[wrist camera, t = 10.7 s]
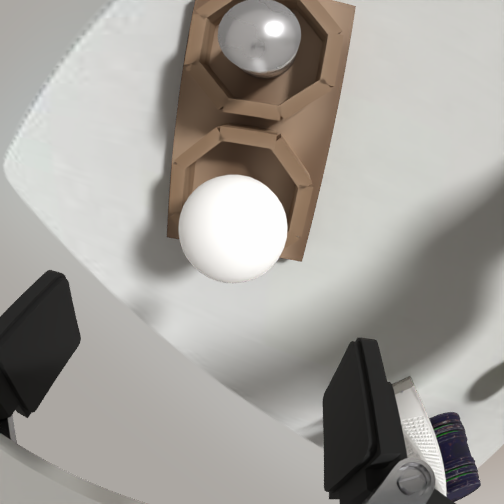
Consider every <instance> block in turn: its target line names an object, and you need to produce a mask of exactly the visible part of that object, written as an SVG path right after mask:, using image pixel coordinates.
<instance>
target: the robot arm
mask: <svg viewBox="0 0 504 504" xmlns="http://www.w3.org/2000/svg"><path fill="white" fill-rule="evenodd" d="M80 340H81V337H80V332H79V328H78V324H77V320H76V316H75V311H74V307H73V302H72V297H71V292H70V287H69V282H68V280H67V279H66V277H65V275H64V274H62V273H59V272H56V271H52V270H48V271H47V272H46V273H44V274H43V275H42V276H41V277H40V278H39V279H38V280H37V281H36V282H35V283H34V284H33V285H32V286H31V287H30V288H29V289H27V290H26V291H25V292H24V293H23V294H22V295H21V296H20V297H19V298H18V299H17V300H16V301H15V302H14V303H13V304H12V305H11V306H10V307H9V308H8V309H7V310H6V312H4V313H3V315H2V316H1V317H0V504H147V503H144V502H141V501H138V500H135V499H132V498H129V497H127V496H124V495H121V494H118V493H116V492H113V491H110V490H108V489H106V488H103V487H101V486H98V485H96V484H93V483H91V482H89V481H86V480H84V479H82V478H80V477H78V476H76V475H73V474H71V473H69V472H67V471H65V470H63V469H61V468H59V467H57V466H55V465H53V464H51V463H49V462H48V461H46V460H44V459H42V458H40V457H38V456H37V455H35V454H33V453H31V452H29V451H28V450H26V449H25V448H23V447H21V446H20V445H18V444H17V441H16V435H15V430H14V423H13V415H12V414H13V412H14V411H15V410H16V411H17V412H18V413H20V414H21V415H23V416H25V417H27V418H28V417H29V415H30V414H31V412H35V410H36V409H37V408H38V406H39V405H40V403H41V402H42V400H43V398H44V397H45V395H46V393H47V392H48V391H49V389H50V387H51V386H52V384H53V383H54V381H55V380H56V378H57V376H58V375H59V374H60V372H61V371H62V369H63V367H64V366H65V365H66V363H67V362H68V360H69V359H70V357H71V356H72V354H73V353H74V352H75V350H76V349H77V347H78V346H79V344H80ZM323 428H324V489H325V491H326V492H329V499H340V504H455V503H454V502H453V501H451V500H450V499H449V498H447V497H446V496H444V495H443V494H442V493H440V492H439V491H438V490H436V489H435V488H434V487H435V480H436V478H435V475H434V471H433V470H432V468H431V467H430V465H428V464H427V463H426V462H425V461H423V460H421V459H418V458H408V457H407V452H406V446H405V441H404V435H403V430H402V425H401V420H400V416H399V411H398V406H397V402H396V397H395V393H394V389H393V386H392V384H391V383H390V382H387V379H386V375H385V371H384V367H383V363H382V359H381V355H380V351H379V347H378V343H377V341H376V340H373V339H366V338H358V339H357V340H356V341H355V342H353V341H352V342H350V344H349V346H348V348H347V350H346V352H345V354H344V356H343V358H342V360H341V362H340V364H339V366H338V368H337V370H336V372H335V374H334V376H333V378H332V380H331V382H330V384H329V386H328V388H327V389H326V391H325V393H324V397H323Z"/></svg>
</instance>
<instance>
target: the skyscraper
mask: <svg viewBox="0 0 504 504" xmlns="http://www.w3.org/2000/svg"><path fill="white" fill-rule="evenodd" d="M392 386H393V389H394V393H395V397H396V402H397V406H398V411H399V416H400V420H401V425H402V430H403V435H404V441H405V446H406V452H407V457H408V458H418V459H421V460H423V461H425V462H426V463H427V464H428V465H430V467H431V468H432V470H433V471H434V475H435V478H436V480H435V487H434V488H435V489H436V490H438V491H439V492H440V493H442V494H443V495H444V496H446V478H445V471H444V465H443V460H442V456H441V452H440V448H439V445H438V442H437V439H436V436H435V433H434V430H433V427H432V425H431V422H430V420H429V417H428V415H427V412H426V410H425V408H424V406H423V403H422V401H421V399H420V397H419V395H418V393H417V390H416V388H415V386H414V384H413V382H412V380H411V377H408V378H406V379H404V380H401V381H399V382H397V383H395V384H393V385H392Z"/></svg>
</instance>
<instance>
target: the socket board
mask: <svg viewBox="0 0 504 504" xmlns="http://www.w3.org/2000/svg"><path fill="white" fill-rule="evenodd" d="M243 1H246V0H195V4H194V9H193V14H192V19H191V24H190V29H189V35H188V41H187V46H186V52H185V59H184V65H183V71H182V78H181V85H180V92H179V100H178V108H177V116H176V125H175V134H174V144H173V154H172V165H171V177H170V191H169V206H168V224H167V237H169V238H174V239H179V229H178V227H179V219H180V214H181V211H182V208H183V206H184V204H185V202H186V201H187V199H188V197H189V196H190V195H191V194H192V193H193V192H194V191H195V189H196V188H197V187H199V186H200V185H201V184H203V183H204V182H206V181H208V180H210V179H213V178H215V177H219V176H225V175H243V176H248V177H251V178H253V179H256V180H258V181H260V182H261V183H263V184H264V185H266V186H267V187H268V188H269V189H270V190H271V191H272V192H273V193H274V194H275V195H276V196H277V198H278V199H279V201H280V202H281V204H282V206H283V209H284V211H285V214H286V219H287V239H286V243H285V246H284V249H283V251H282V253H281V255H280V257H279V258H285V259H290V260H296V261H301V262H302V259H303V255H304V251H305V247H306V243H307V239H308V236H309V232H310V228H311V224H312V220H313V216H314V212H315V207H316V203H317V199H318V195H319V191H320V186H321V182H322V178H323V174H324V169H325V165H326V160H327V156H328V151H329V147H330V142H331V137H332V133H333V128H334V123H335V118H336V114H337V109H338V104H339V99H340V93H341V88H342V83H343V78H344V72H345V67H346V61H347V56H348V50H349V44H350V38H351V32H352V26H353V20H354V13H355V7H356V6H353V5H349V4H345V3H341V2H337V1H333V0H273V1H276V2H279V3H281V4H282V5H284V6H286V7H287V8H288V9H289V10H290V11H291V12H292V13H293V14H294V15H295V17H296V18H297V20H298V22H299V25H300V29H301V41H300V44H299V47H298V50H297V53H296V56H295V59H294V62H293V64H292V66H291V67H290V68H289V70H288V71H287V72H285V73H284V74H283V75H281V76H279V77H276V78H272V79H259V78H255V77H253V76H250V75H249V74H247V73H246V72H244V71H243V70H242V69H240V68H239V67H238V66H236V65H235V64H234V63H232V62H231V61H230V60H229V59H228V58H227V57H226V56H225V55H224V53H223V52H222V50H221V48H220V45H219V42H218V28H219V24H220V22H221V20H222V18H223V16H224V15H225V14H226V13H227V12H228V11H229V10H230V9H231V8H232V7H233V6H235V5H237V4H238V3H241V2H243Z"/></svg>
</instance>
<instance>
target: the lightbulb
mask: <svg viewBox="0 0 504 504" xmlns="http://www.w3.org/2000/svg"><path fill="white" fill-rule="evenodd" d="M178 229H179V239H180V243H181V247H182V250H183V252H184V254H185V256H186V257H187V259H188V260H189V262H190V263H191V264H192V265H193V266H194V267H195V268H196V269H197V270H198V271H199V272H201V273H202V274H204V275H205V276H207V277H209V278H211V279H213V280H216V281H220V282H224V283H240V282H246V281H250V280H253V279H255V278H257V277H259V276H261V275H263V274H264V273H265V272H266V271H268V270H269V269H270V268H271V267H272V266H273V265H274V264H275V262H276V261H277V260H278V259H279V257H280V255H281V253H282V251H283V249H284V246H285V243H286V239H287V219H286V214H285V211H284V209H283V206H282V204H281V202H280V201H279V199H278V198H277V196H276V195H275V194H274V193H273V192H272V191H271V190H270V189H269V188H268V187H267V186H266V185H264V184H263V183H261V182H260V181H258V180H256V179H253V178H251V177H248V176H243V175H225V176H219V177H215V178H213V179H210V180H208V181H206V182H204V183H203V184H201V185H200V186H199V187H197V188H196V189H195V191H194V192H193V193H192V194H191V195H190V196H189V197H188V199H187V201H186V202H185V204H184V206H183V208H182V211H181V214H180V219H179V227H178Z"/></svg>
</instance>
